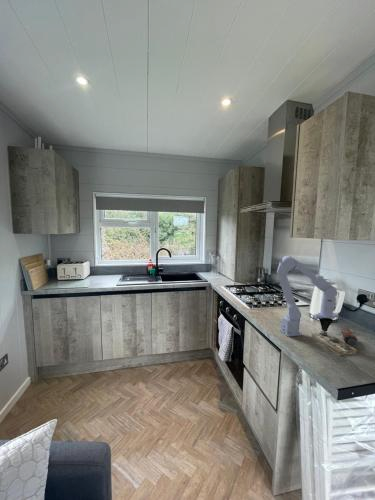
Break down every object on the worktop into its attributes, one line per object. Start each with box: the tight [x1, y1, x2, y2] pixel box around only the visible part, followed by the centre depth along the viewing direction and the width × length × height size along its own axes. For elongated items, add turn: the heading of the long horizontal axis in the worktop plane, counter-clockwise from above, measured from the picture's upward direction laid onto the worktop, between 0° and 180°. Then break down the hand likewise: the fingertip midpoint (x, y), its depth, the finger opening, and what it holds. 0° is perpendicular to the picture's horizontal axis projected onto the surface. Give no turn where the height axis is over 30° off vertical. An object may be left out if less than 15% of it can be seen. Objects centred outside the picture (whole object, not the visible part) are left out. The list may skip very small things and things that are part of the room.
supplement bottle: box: [340, 327, 359, 347], centre depth 116 cm, size 6×6×11 cm
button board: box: [311, 332, 357, 357], centre depth 114 cm, size 10×17×2 cm, turn 14°
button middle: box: [331, 336, 339, 343], centre depth 114 cm, size 3×3×2 cm
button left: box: [320, 330, 328, 336], centre depth 120 cm, size 3×3×2 cm
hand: (324, 330), depth 120 cm, fingers closed
